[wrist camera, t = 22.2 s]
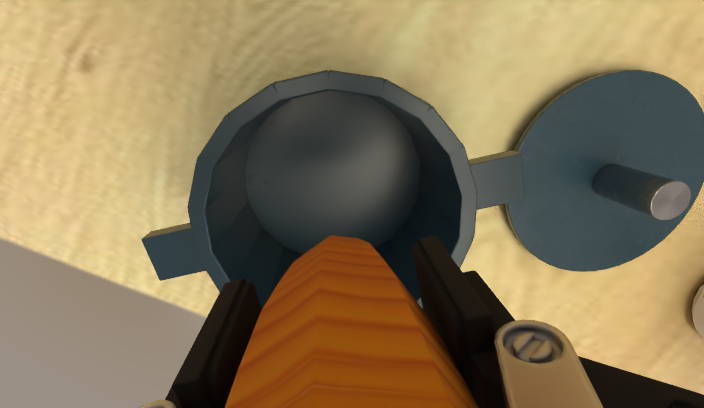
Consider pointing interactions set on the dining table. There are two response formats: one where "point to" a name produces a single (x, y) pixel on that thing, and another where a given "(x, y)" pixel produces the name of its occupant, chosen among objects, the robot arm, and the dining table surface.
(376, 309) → the carrot
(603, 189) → the pot lid
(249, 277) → the pot
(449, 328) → the robot arm
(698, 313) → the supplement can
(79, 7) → the dining table surface
